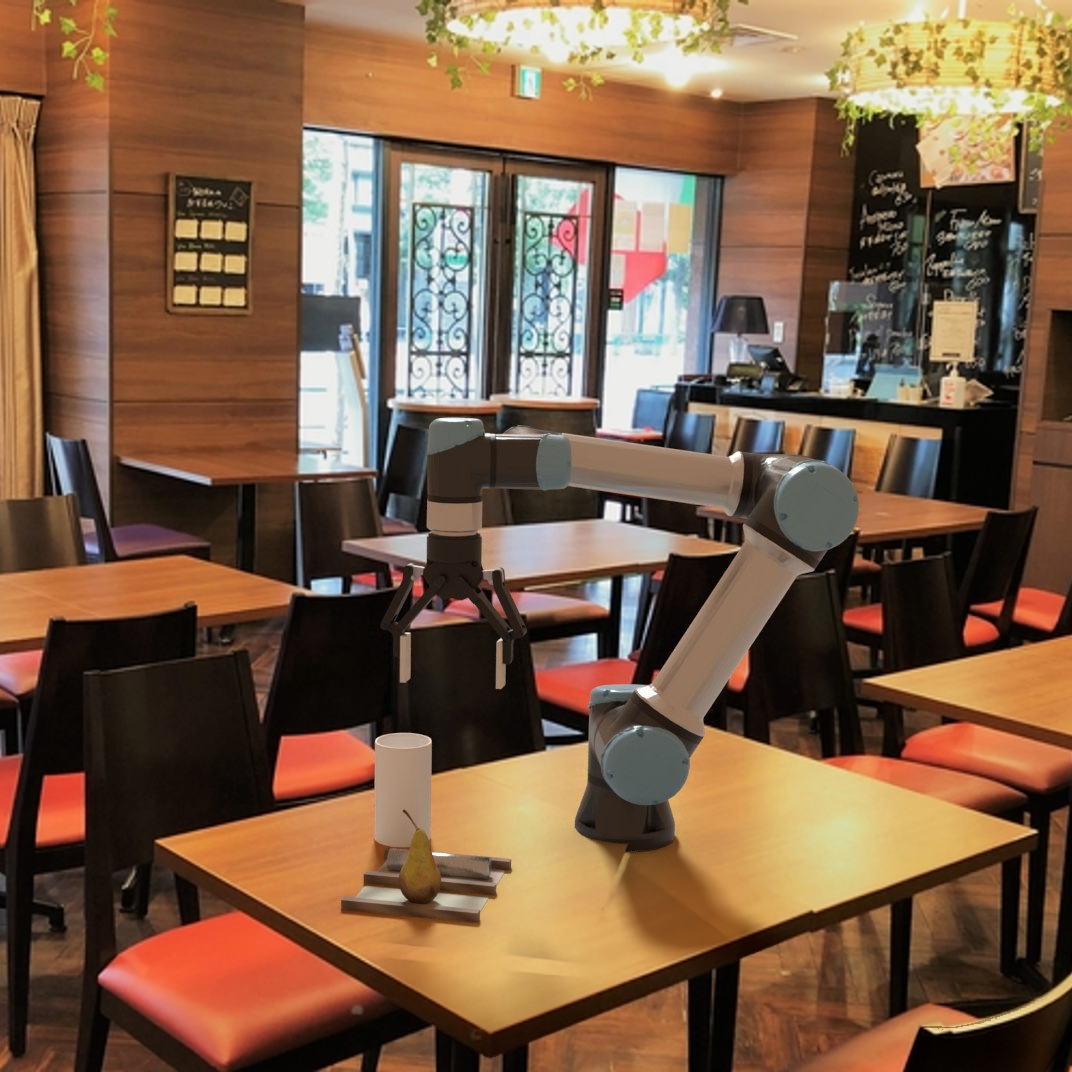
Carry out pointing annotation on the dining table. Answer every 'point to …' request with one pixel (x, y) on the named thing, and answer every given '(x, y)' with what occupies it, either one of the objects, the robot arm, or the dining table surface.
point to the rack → (438, 908)
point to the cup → (402, 787)
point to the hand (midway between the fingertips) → (452, 683)
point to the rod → (447, 863)
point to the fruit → (419, 870)
